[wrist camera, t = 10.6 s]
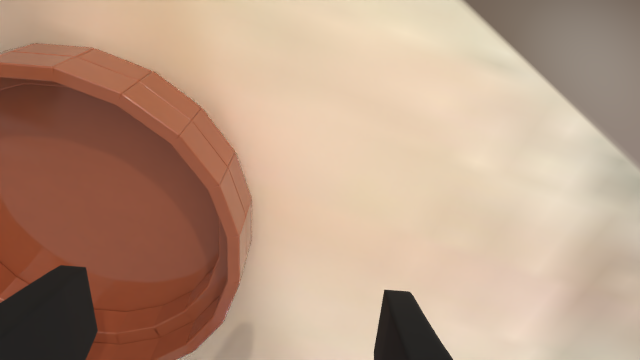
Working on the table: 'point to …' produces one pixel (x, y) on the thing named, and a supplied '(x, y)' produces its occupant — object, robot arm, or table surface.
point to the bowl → (119, 198)
